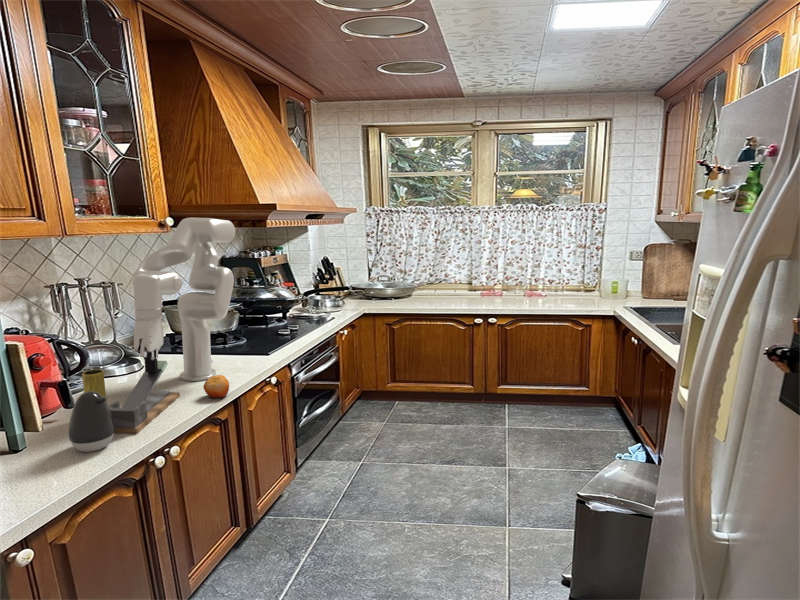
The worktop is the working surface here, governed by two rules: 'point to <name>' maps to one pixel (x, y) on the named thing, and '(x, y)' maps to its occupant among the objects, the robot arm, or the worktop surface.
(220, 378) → the fruit
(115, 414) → the stand
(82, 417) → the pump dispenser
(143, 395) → the arm
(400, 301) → the worktop surface
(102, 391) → the vase
